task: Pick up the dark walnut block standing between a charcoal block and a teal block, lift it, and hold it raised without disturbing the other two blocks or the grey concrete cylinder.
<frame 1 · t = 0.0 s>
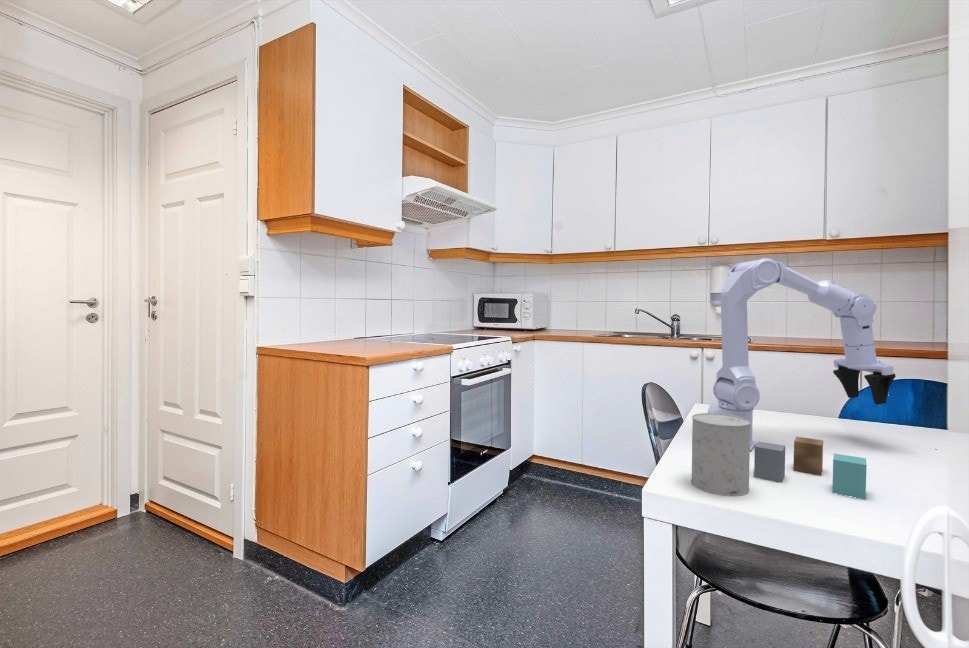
hand: (866, 400, 109), 11 cm above the table, tool pointing down, fingers open, 7 cm apart
walnut block: (807, 470, 92), on the table
grey concrete cylinder: (719, 486, 84), on the table
charcoal block: (769, 476, 88), on the table
teal block: (848, 492, 81), on the table
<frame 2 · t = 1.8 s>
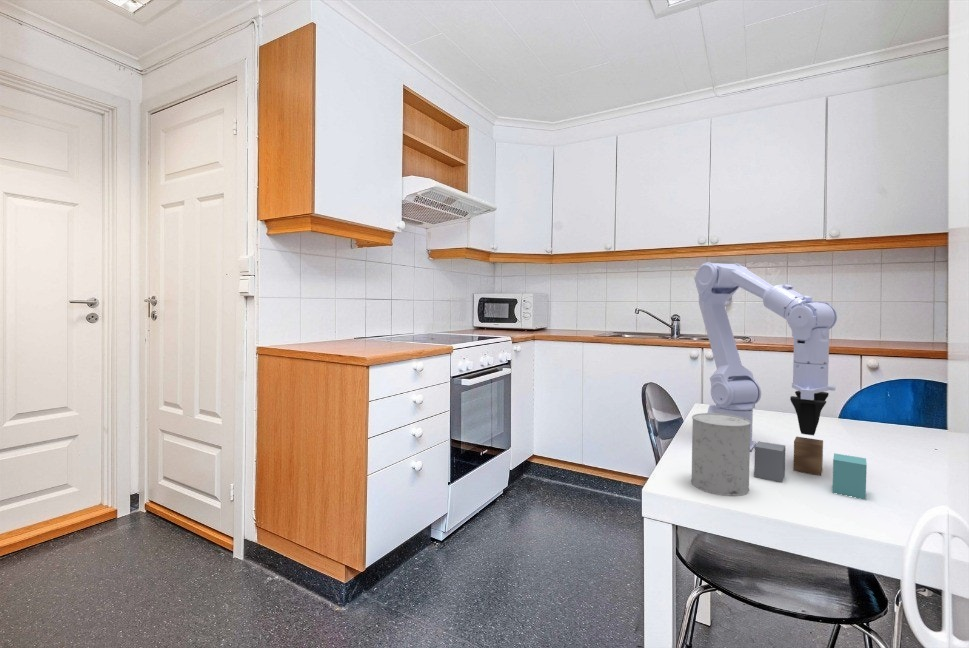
hand: (809, 430, 92), 8 cm above the table, tool pointing down, fingers open, 7 cm apart
nothing on the table moved.
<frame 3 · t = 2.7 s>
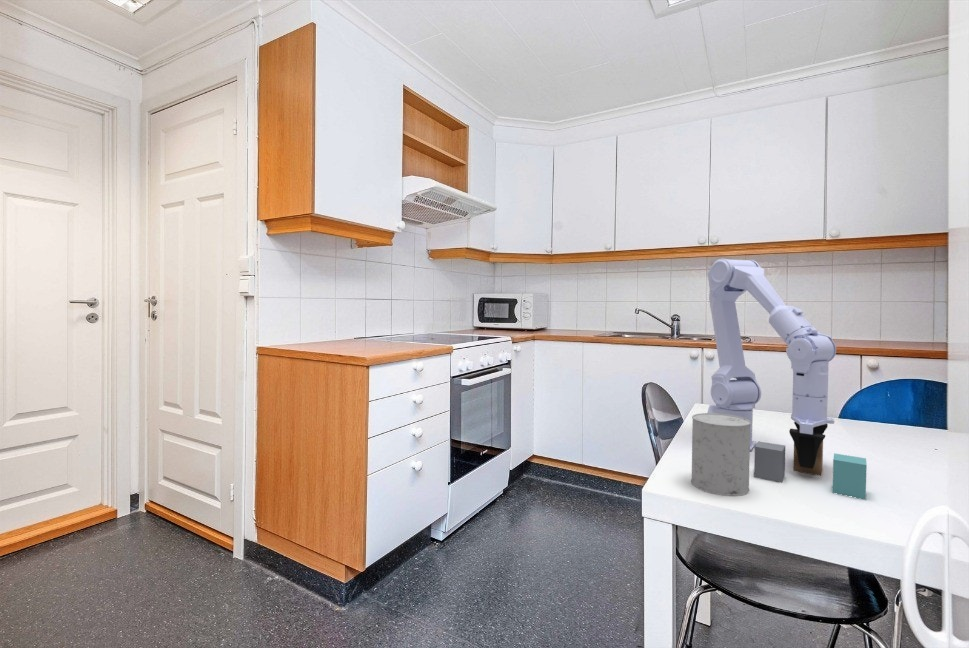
hand: (808, 462, 92), 2 cm above the table, tool pointing down, fingers open, 7 cm apart
nothing on the table moved.
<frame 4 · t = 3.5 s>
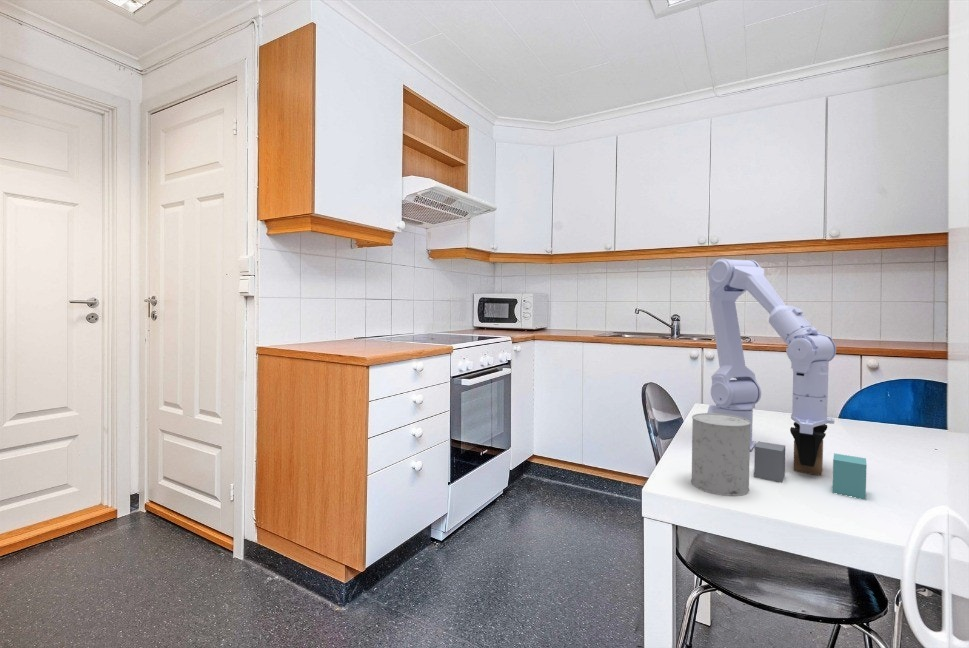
hand: (808, 462, 92), 2 cm above the table, tool pointing down, fingers closed on walnut block, 4 cm apart
walnut block: (808, 470, 92), on the table, touching gripper
everything else where it was.
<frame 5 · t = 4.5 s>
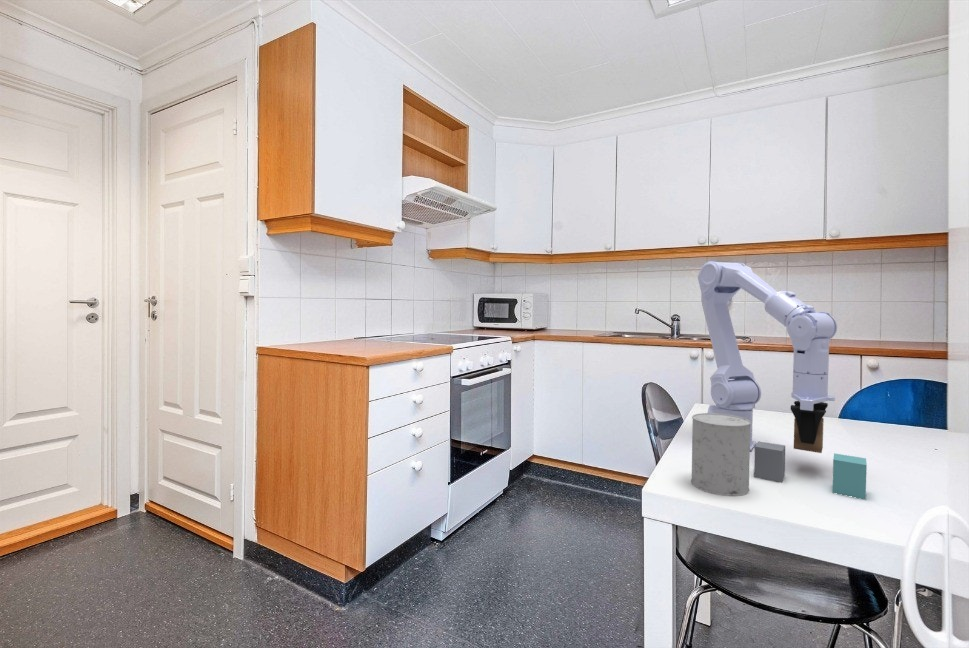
hand: (808, 440, 92), 6 cm above the table, tool pointing down, fingers closed on walnut block, 4 cm apart
walnut block: (808, 448, 92), point 4 cm above the table, touching gripper
everything else where it was.
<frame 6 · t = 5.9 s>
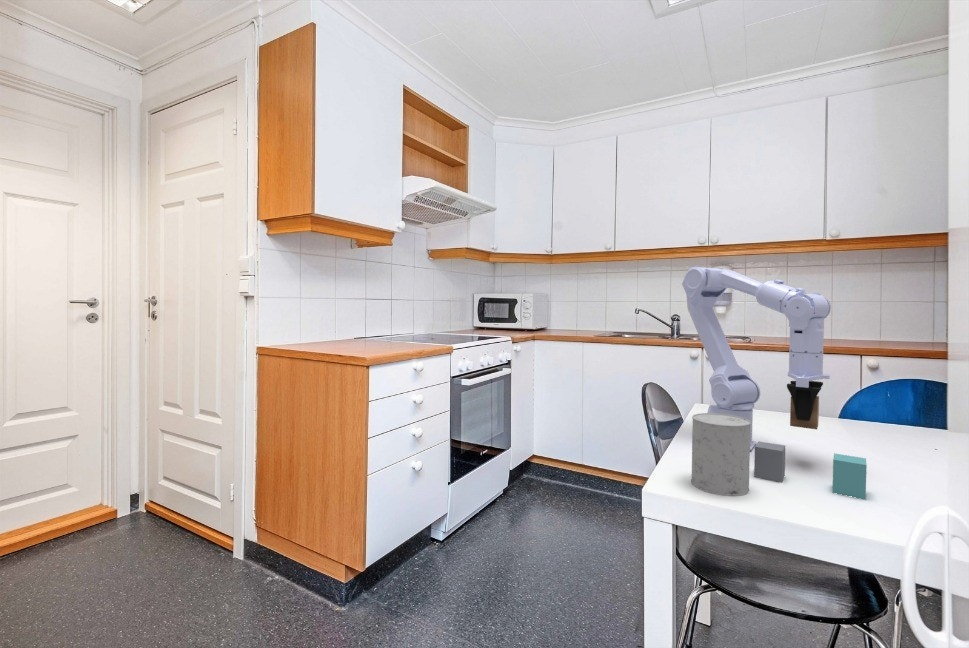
hand: (804, 417, 95), 10 cm above the table, tool pointing down, fingers closed on walnut block, 4 cm apart
walnut block: (804, 425, 95), point 8 cm above the table, touching gripper
everything else where it was.
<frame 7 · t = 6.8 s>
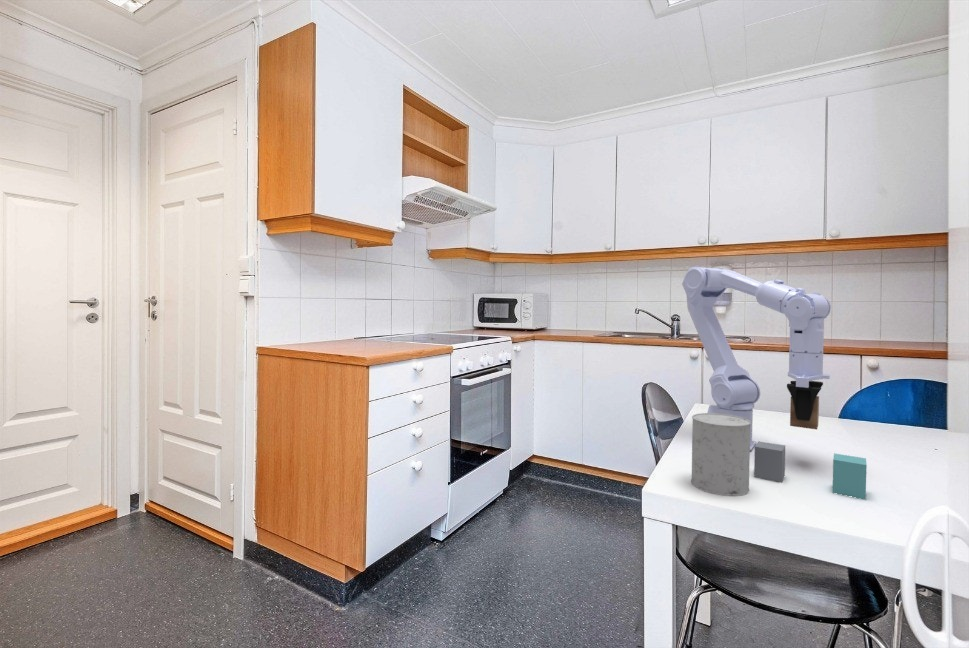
hand: (804, 417, 95), 10 cm above the table, tool pointing down, fingers closed on walnut block, 4 cm apart
walnut block: (804, 425, 95), point 8 cm above the table, touching gripper
everything else where it was.
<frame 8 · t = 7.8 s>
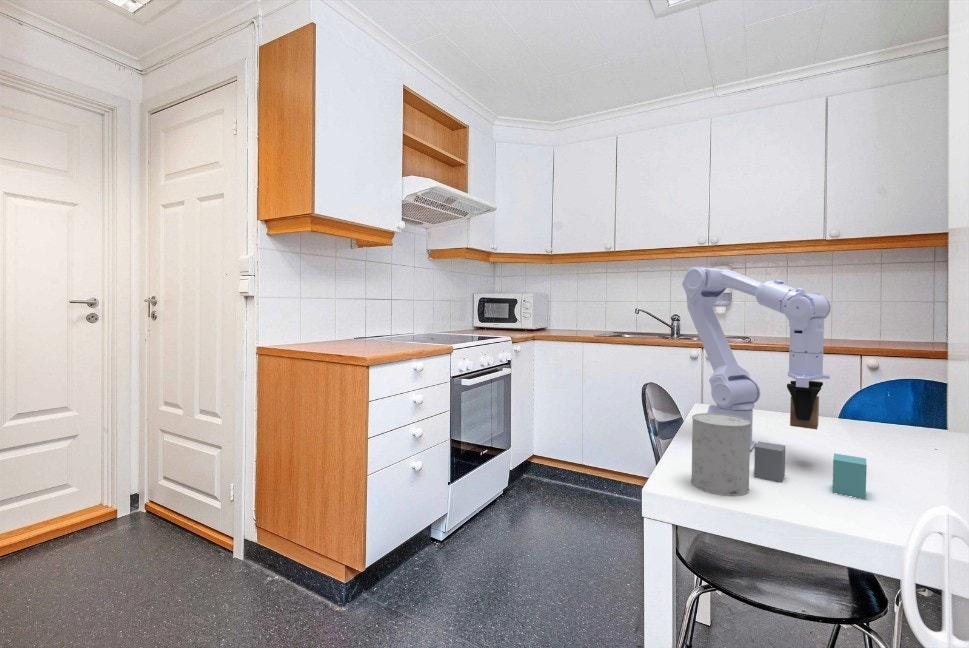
hand: (804, 417, 95), 10 cm above the table, tool pointing down, fingers closed on walnut block, 4 cm apart
walnut block: (804, 425, 95), point 8 cm above the table, touching gripper
everything else where it was.
at the end: walnut block point 8.3 cm above the table; charcoal block moved 0.1 cm from its start; teal block moved 0.1 cm from its start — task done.
